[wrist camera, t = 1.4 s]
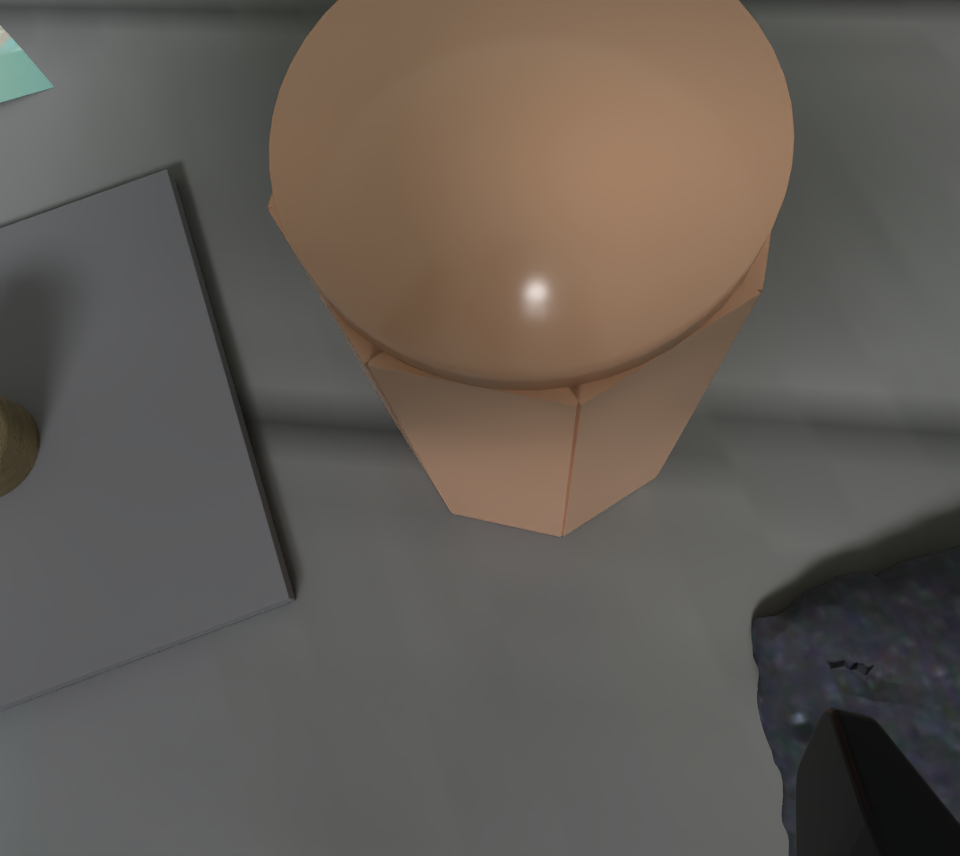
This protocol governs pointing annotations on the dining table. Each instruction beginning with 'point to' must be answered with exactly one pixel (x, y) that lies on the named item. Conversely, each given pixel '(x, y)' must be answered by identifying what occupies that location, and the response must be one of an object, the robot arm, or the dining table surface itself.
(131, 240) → the charcoal mat
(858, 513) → the dining table surface
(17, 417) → the brass weight
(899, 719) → the dark slate chunk
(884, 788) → the robot arm
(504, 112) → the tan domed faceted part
